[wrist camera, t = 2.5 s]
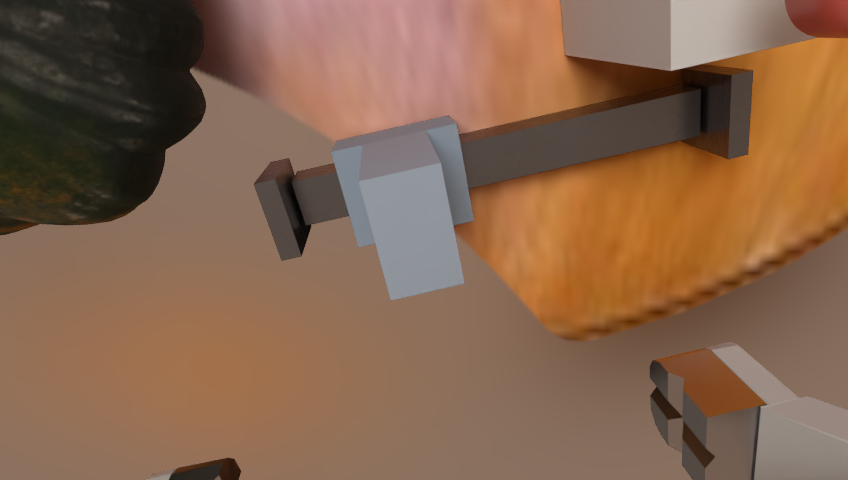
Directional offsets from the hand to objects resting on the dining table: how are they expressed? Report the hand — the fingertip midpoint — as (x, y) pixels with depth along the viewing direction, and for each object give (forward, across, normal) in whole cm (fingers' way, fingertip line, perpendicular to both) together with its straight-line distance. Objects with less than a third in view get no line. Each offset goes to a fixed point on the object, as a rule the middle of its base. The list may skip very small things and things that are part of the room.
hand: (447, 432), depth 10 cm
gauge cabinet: (+19, -13, -6) cm, 24 cm away
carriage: (+19, 0, 0) cm, 19 cm away
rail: (+19, -5, 0) cm, 20 cm away
